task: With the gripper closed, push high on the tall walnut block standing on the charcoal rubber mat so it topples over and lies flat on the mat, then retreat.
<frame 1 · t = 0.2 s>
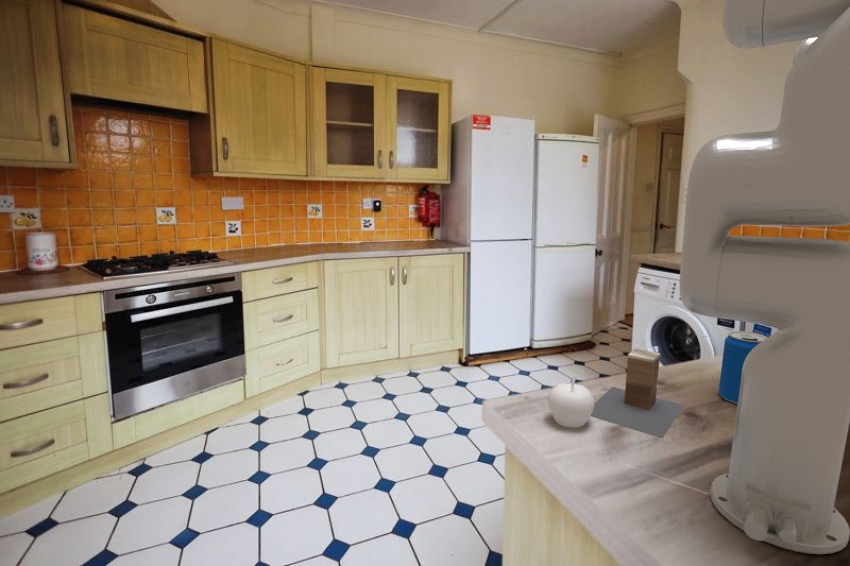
hand: (815, 222, 80), 31 cm above the countertop, tool pointing down, fingers open, 9 cm apart
mat: (634, 411, 77), on the countertop
plain white apple: (569, 424, 74), on the countertop
beverage can: (739, 401, 81), on the countertop
block: (639, 403, 79), resting on mat
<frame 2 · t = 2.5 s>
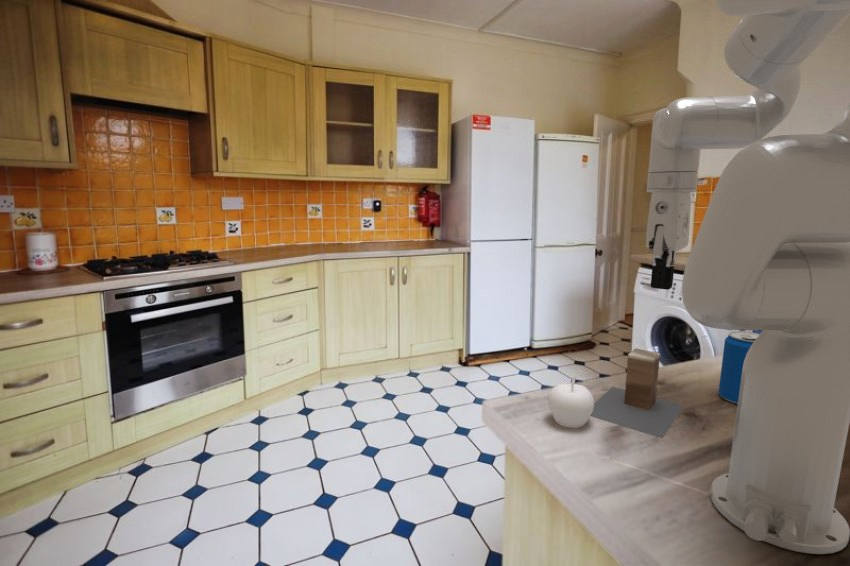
hand: (661, 287, 82), 20 cm above the countertop, tool pointing down, fingers closed
nothing on the countertop moved.
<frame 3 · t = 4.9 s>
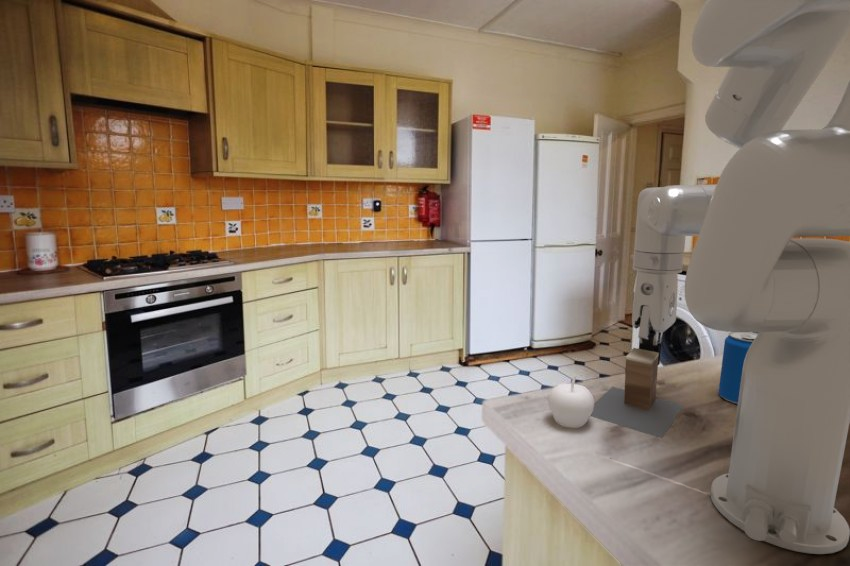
hand: (648, 364, 81), 7 cm above the countertop, tool pointing down, fingers closed
block: (639, 401, 79), point 1 cm above the countertop, tilted 7°, touching mat
everything else where it was.
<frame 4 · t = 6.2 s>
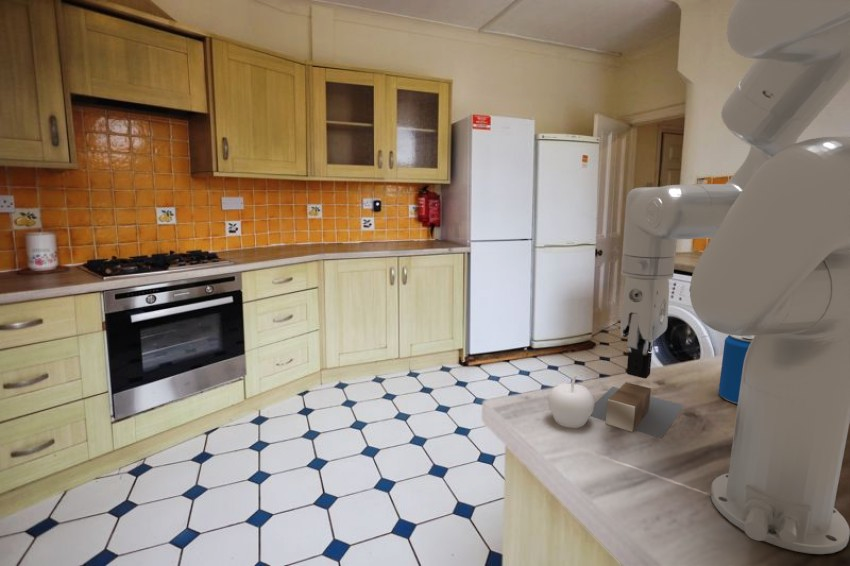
hand: (638, 374, 76), 7 cm above the countertop, tool pointing down, fingers closed
block: (637, 396, 77), point 2 cm above the countertop, tilted 90°, touching mat
everything else where it was.
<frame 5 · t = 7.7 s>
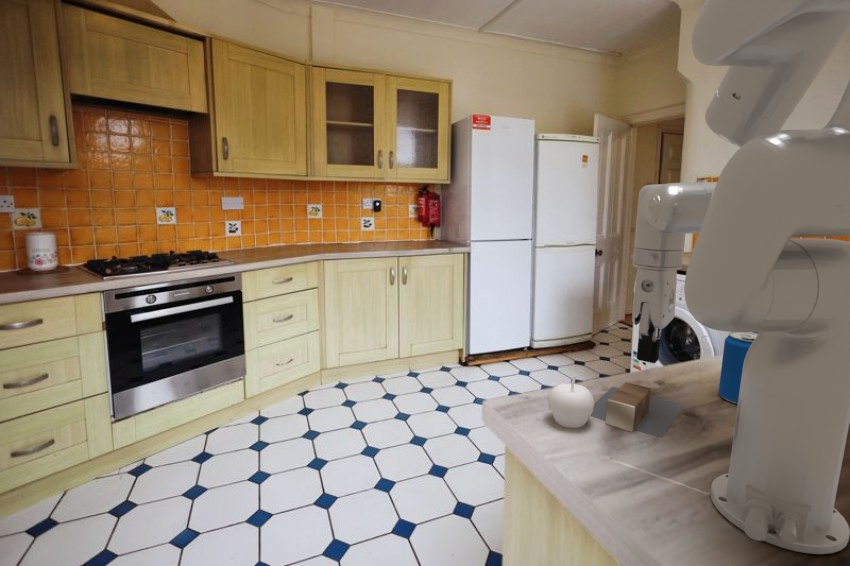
hand: (647, 360, 81), 7 cm above the countertop, tool pointing down, fingers closed
nothing on the countertop moved.
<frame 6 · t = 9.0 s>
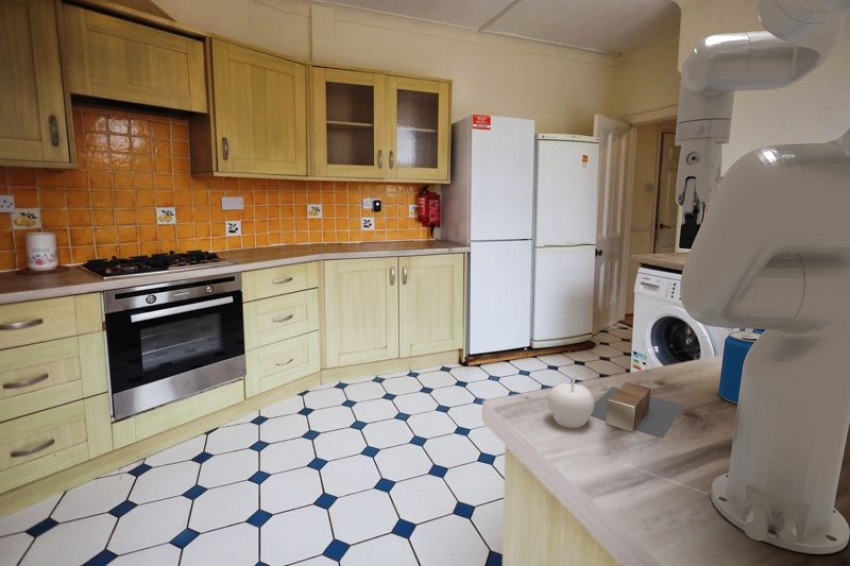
hand: (690, 248, 77), 27 cm above the countertop, tool pointing down, fingers closed
nothing on the countertop moved.
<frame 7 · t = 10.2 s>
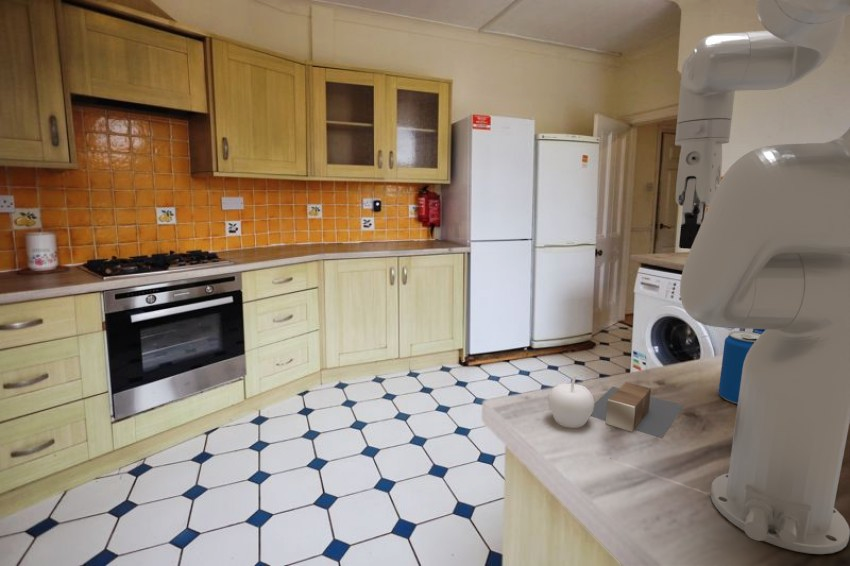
hand: (690, 248, 77), 27 cm above the countertop, tool pointing down, fingers closed
nothing on the countertop moved.
at the end: block tilted 90°; block inside the target area (2.0 cm from its centre), point 2.4 cm above the countertop; the gripper is holding nothing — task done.
